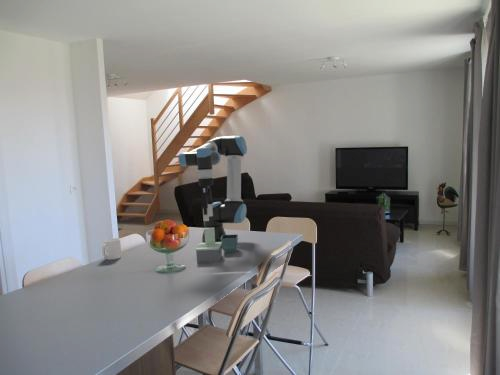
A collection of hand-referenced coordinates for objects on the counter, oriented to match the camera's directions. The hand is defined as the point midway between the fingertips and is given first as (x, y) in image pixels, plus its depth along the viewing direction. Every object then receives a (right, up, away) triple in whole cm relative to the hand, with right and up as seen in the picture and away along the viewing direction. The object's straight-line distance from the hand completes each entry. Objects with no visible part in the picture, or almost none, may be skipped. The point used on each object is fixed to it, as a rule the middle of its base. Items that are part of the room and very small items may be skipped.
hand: (208, 218), depth 212 cm
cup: (-54, -23, +13) cm, 61 cm away
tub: (+1, -21, -2) cm, 21 cm away
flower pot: (+11, -20, +11) cm, 25 cm away
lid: (+1, -14, -3) cm, 15 cm away
